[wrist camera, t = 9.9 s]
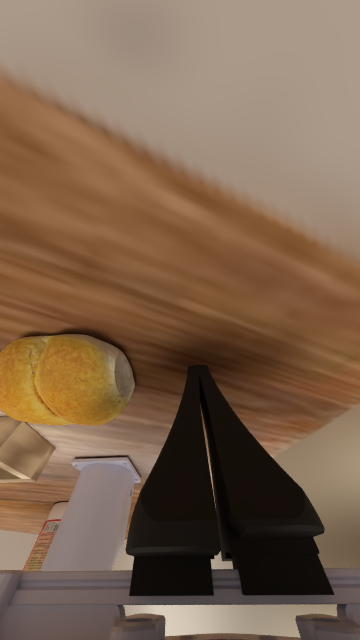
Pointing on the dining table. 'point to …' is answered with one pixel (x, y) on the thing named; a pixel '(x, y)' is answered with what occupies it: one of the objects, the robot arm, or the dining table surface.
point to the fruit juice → (45, 538)
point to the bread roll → (64, 380)
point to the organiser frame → (21, 451)
